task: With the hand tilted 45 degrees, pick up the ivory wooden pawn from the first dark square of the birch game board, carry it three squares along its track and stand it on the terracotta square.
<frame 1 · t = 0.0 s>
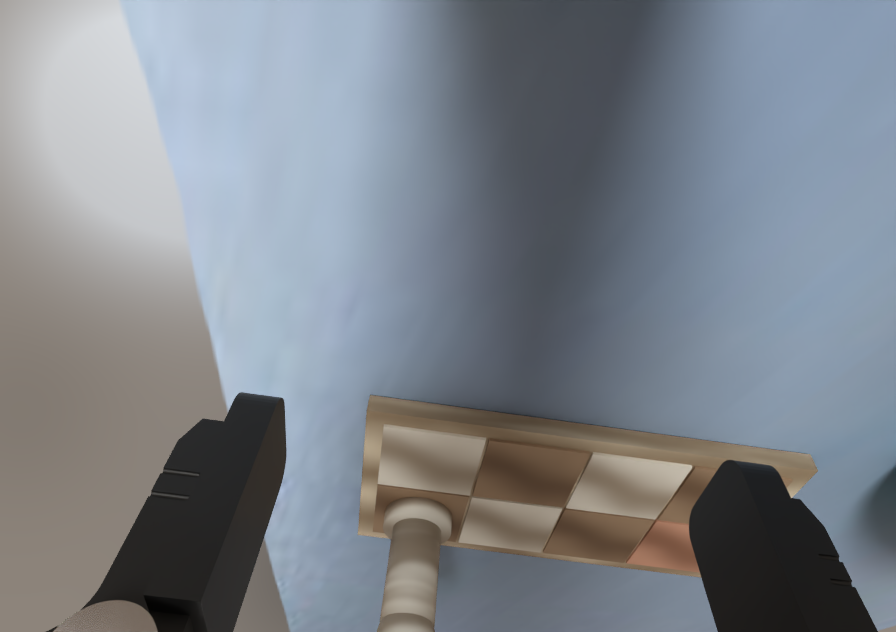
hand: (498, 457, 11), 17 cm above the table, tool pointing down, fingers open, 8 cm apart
board: (562, 490, 42), on the table
pawn: (418, 515, 42), point 1 cm above the table, touching board
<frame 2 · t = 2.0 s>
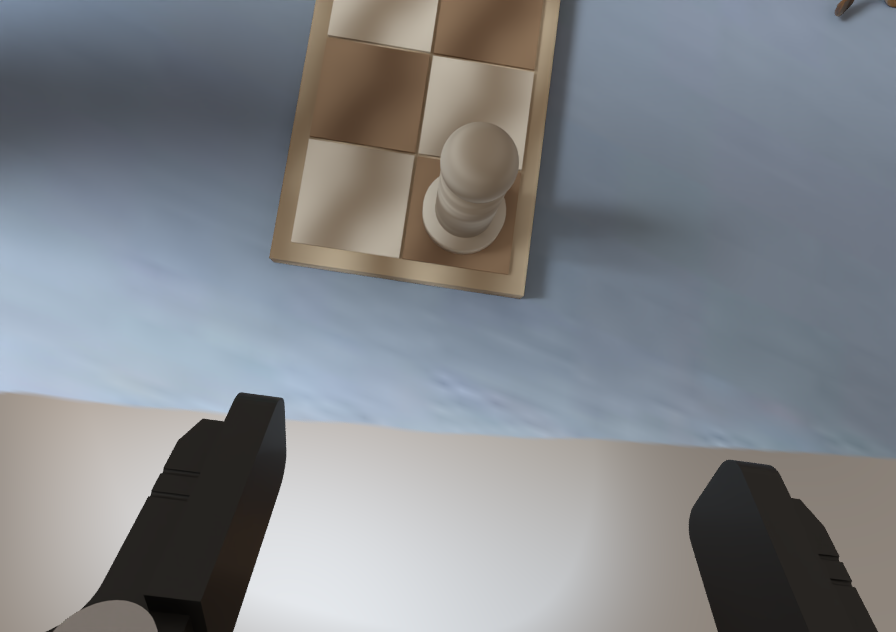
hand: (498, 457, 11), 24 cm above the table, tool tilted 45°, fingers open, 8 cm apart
board: (430, 65, 38), on the table
pawn: (462, 214, 35), point 1 cm above the table, touching board
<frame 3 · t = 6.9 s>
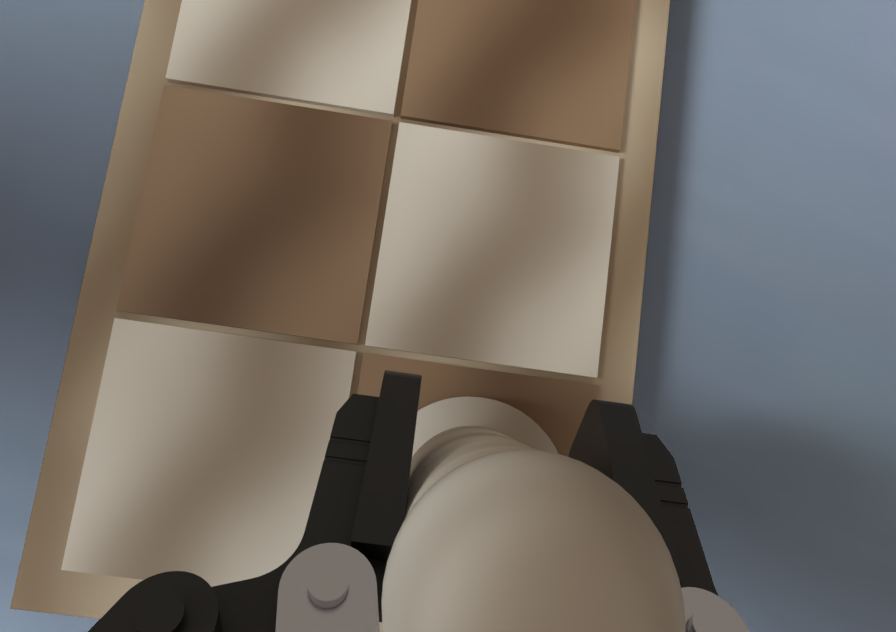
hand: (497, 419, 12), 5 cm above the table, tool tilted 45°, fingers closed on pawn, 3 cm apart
board: (397, 139, 18), on the table
pawn: (465, 489, 15), point 1 cm above the table, touching board, gripper
when the fingers open (7 cm above the table, at t = 13.0 s): pawn drops 1 cm, resting on board.
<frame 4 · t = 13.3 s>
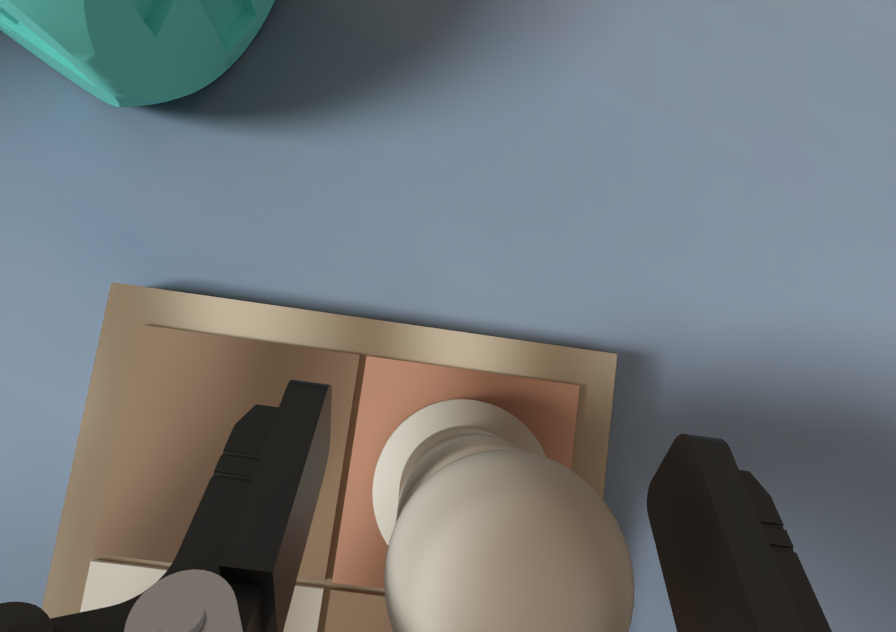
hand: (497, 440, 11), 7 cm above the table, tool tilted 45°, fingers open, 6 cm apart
pawn: (459, 483, 17), point 1 cm above the table, touching board
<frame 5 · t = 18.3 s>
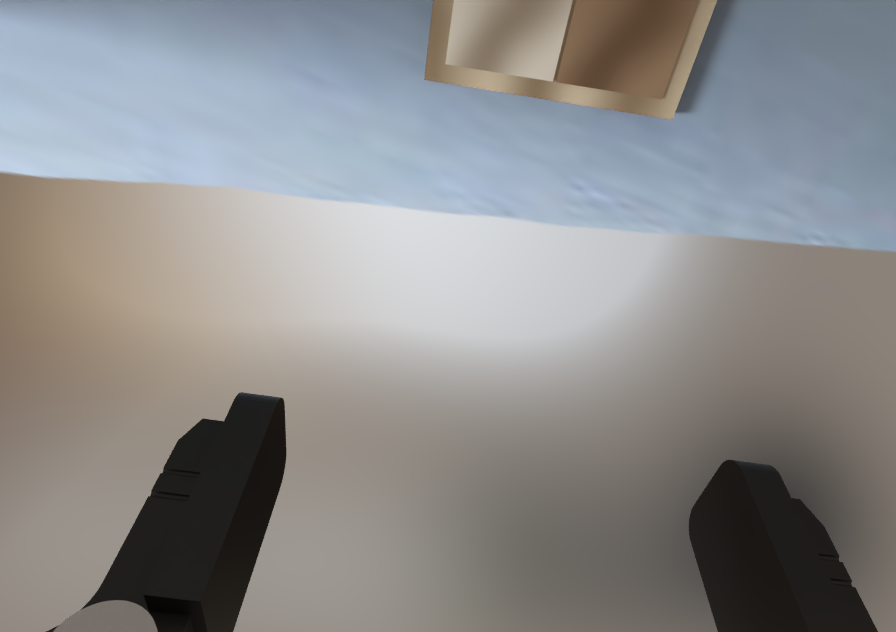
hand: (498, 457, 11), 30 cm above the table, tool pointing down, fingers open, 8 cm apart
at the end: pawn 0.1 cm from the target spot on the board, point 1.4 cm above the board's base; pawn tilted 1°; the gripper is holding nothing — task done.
